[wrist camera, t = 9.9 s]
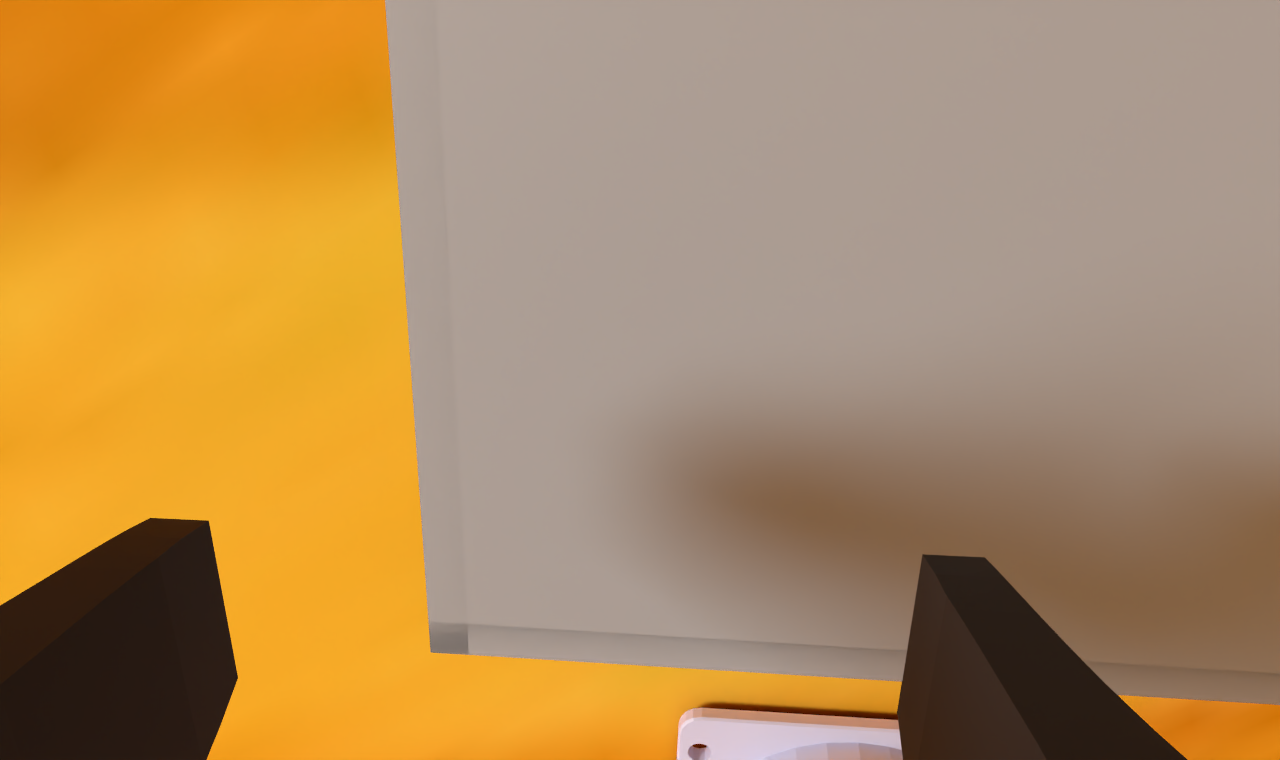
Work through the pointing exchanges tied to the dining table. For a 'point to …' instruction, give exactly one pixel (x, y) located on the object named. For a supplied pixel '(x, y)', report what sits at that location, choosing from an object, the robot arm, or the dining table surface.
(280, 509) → the dining table surface
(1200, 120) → the carton
